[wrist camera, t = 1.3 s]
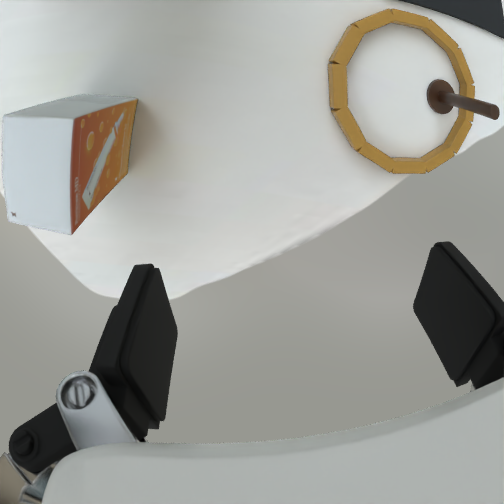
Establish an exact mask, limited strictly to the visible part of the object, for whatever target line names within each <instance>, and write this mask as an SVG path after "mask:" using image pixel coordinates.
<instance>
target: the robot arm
mask: <svg viewBox="0 0 504 504" xmlns="http://www.w3.org/2000/svg"><path fill="white" fill-rule="evenodd" d="M413 309H414V312H415V314H416V316H417V318H418V319H419V321H420V323H421V325H422V326H423V328H424V330H425V332H426V333H427V335H428V337H429V339H430V340H431V343H432V344H433V346H434V348H435V350H436V352H437V354H438V356H439V358H440V360H441V362H442V363H443V365H444V367H445V369H446V371H447V373H448V375H449V377H450V379H451V380H454V382H455V384H456V387H458V386H461V385H463V384H466V383H468V381H469V380H470V379H471V381H472V386H471V391H470V392H469V393H467V394H465V395H462V396H460V397H457V398H455V399H452V400H449V401H447V402H444V403H441V404H438V405H436V406H432V407H430V408H426V409H424V410H420V411H418V412H414V413H411V414H408V415H404V416H401V417H397V418H394V419H390V420H386V421H382V422H378V423H374V424H370V425H366V426H362V427H357V428H353V429H347V430H342V431H337V432H331V433H326V434H319V435H313V436H306V437H299V438H291V439H281V440H272V441H258V442H242V443H214V444H213V443H212V444H187V443H149V442H148V441H147V439H146V438H145V436H147V433H148V429H159V423H160V421H164V419H165V415H166V408H167V401H168V394H169V386H170V380H171V373H172V367H173V360H174V354H175V348H176V342H177V334H178V333H177V326H176V323H175V319H174V316H173V313H172V310H171V307H170V303H169V300H168V297H167V293H166V290H165V287H164V283H163V280H162V276H161V273H160V270H159V268H154V266H153V264H141V265H135V266H134V267H133V270H132V272H131V274H130V276H129V279H128V281H127V283H126V286H125V288H124V290H123V293H122V295H121V297H120V300H119V302H118V305H116V306H115V307H114V308H113V309H112V311H111V314H110V316H109V319H108V321H107V324H106V326H105V329H104V331H103V334H102V336H101V339H100V342H99V344H98V347H97V350H96V353H95V355H94V358H93V361H92V363H91V367H90V369H89V371H84V370H83V371H76V372H73V373H71V374H69V375H68V376H66V377H65V378H64V379H63V380H62V381H61V383H60V384H59V386H58V389H57V392H56V401H57V403H55V404H54V405H52V406H51V407H49V408H48V409H46V410H45V411H43V412H41V413H40V414H38V415H37V416H35V417H34V418H32V419H31V420H29V421H27V422H26V423H24V424H23V425H21V426H19V427H18V428H17V429H16V430H15V431H14V432H13V434H12V435H11V437H10V441H9V452H10V453H9V454H6V453H3V454H2V456H1V457H0V504H504V302H503V301H502V300H501V298H500V297H499V296H498V294H497V293H496V292H495V291H494V289H493V288H492V287H491V286H490V285H489V283H488V282H487V281H486V280H485V279H484V278H483V277H482V276H481V274H480V273H479V272H478V271H477V270H476V269H475V267H474V266H473V265H472V264H471V263H470V262H469V261H468V260H467V259H466V257H465V256H464V255H463V254H462V253H461V252H460V251H459V250H458V249H457V248H456V247H455V246H454V245H453V244H452V243H451V242H437V243H435V245H434V247H432V248H431V250H430V253H429V257H428V260H427V264H426V267H425V270H424V273H423V277H422V280H421V283H420V286H419V289H418V292H417V295H416V298H415V300H414V304H413Z"/></svg>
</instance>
